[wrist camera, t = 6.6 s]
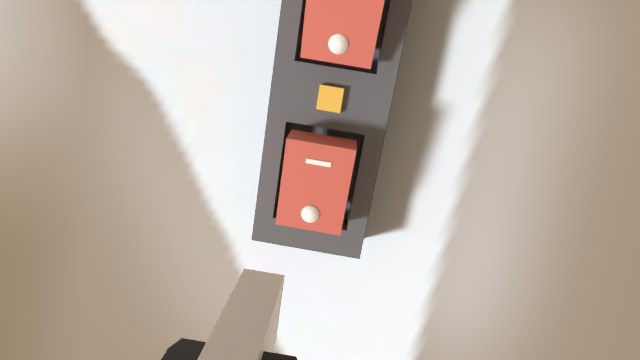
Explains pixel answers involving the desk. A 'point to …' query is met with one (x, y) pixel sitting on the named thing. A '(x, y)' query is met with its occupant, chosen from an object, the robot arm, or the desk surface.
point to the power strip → (328, 122)
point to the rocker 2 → (315, 181)
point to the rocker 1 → (341, 31)
